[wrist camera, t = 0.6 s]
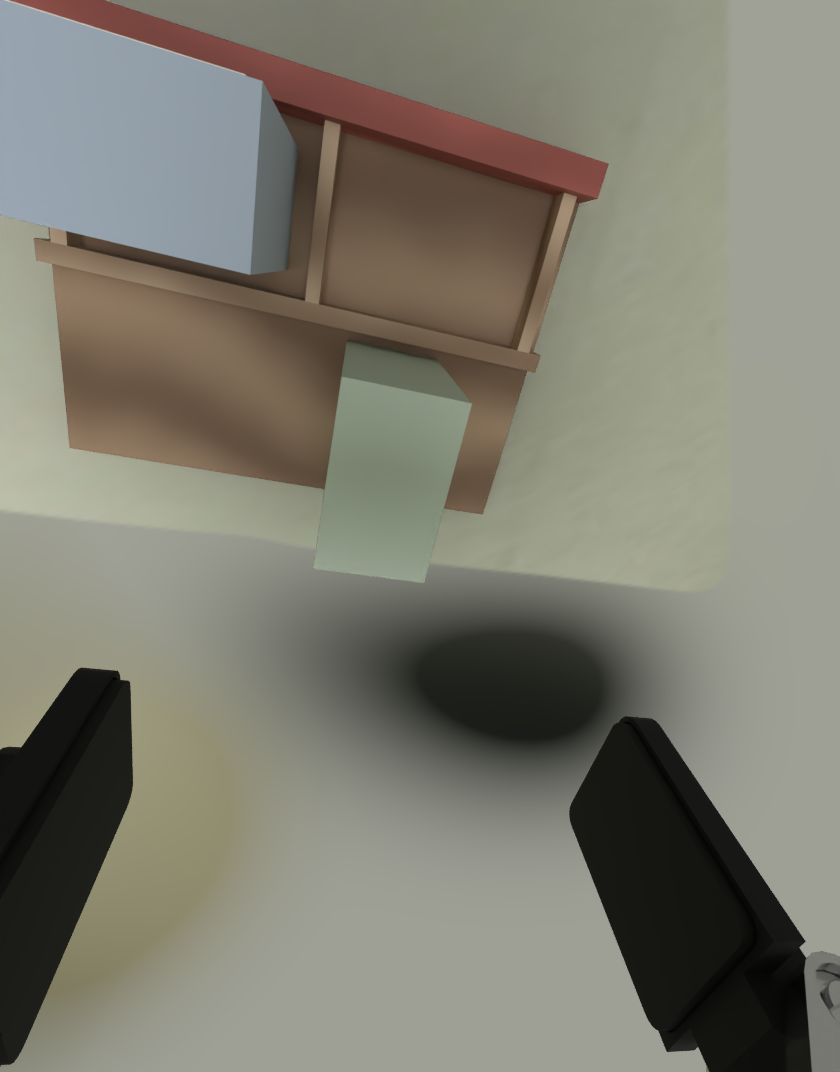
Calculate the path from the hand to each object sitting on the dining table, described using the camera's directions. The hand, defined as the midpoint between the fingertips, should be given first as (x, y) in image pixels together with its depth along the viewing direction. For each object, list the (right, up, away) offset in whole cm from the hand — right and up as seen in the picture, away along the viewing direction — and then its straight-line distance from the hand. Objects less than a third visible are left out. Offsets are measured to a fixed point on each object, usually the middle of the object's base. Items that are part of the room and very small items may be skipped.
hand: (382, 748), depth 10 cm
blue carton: (-8, +19, +11) cm, 23 cm away
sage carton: (-1, +10, +17) cm, 20 cm away
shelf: (-5, +15, +15) cm, 21 cm away
